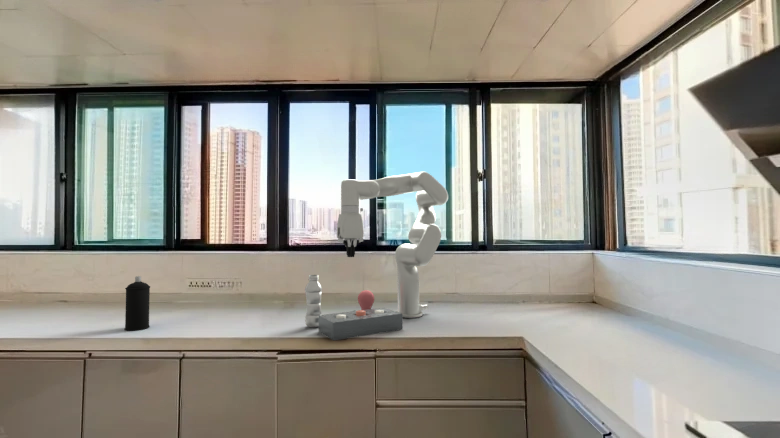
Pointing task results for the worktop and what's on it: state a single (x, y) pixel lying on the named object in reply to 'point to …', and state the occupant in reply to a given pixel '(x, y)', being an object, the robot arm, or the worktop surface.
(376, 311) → the cream plug
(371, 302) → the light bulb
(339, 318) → the cream plug
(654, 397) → the worktop surface
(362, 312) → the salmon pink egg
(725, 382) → the worktop surface
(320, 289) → the plastic bottle
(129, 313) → the aerosol can
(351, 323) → the panel
